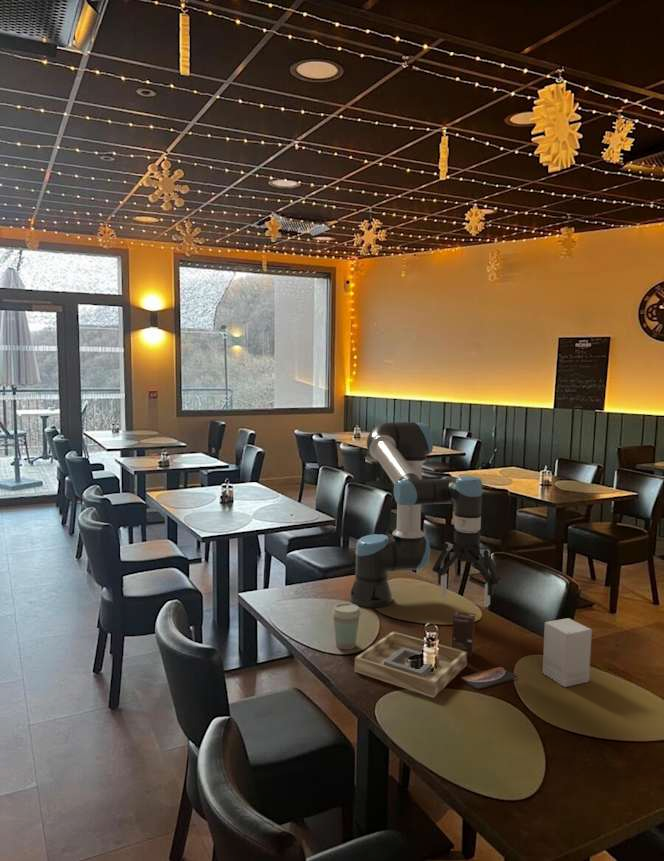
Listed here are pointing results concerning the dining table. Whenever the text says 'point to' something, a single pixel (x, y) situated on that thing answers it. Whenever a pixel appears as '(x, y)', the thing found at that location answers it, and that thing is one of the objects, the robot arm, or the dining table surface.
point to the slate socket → (399, 656)
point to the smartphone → (488, 678)
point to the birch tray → (390, 644)
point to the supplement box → (567, 652)
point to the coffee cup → (346, 624)
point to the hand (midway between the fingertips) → (464, 600)
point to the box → (463, 632)
